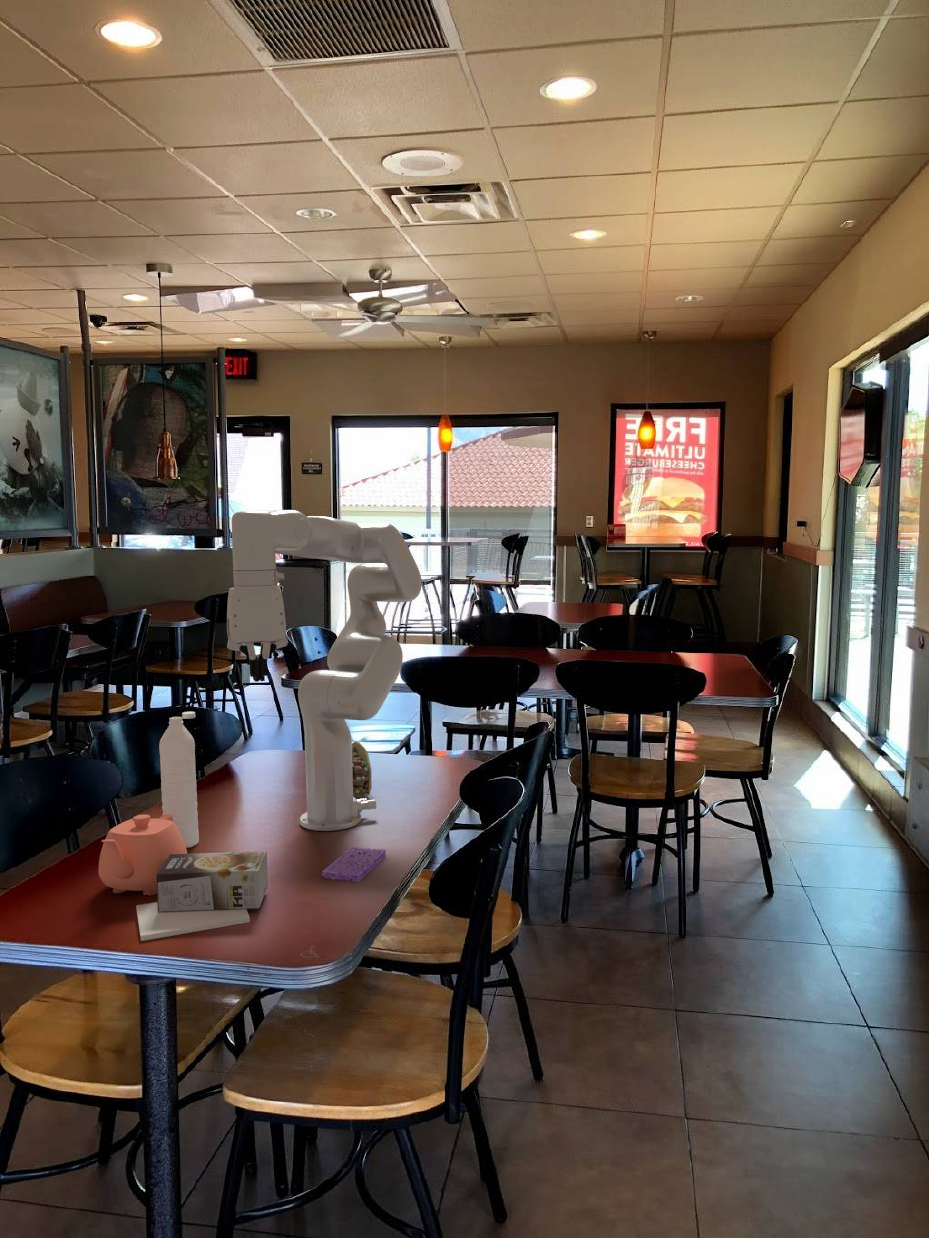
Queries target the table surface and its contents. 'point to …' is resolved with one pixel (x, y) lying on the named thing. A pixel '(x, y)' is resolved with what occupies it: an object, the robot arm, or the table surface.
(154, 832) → the teapot
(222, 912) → the mat
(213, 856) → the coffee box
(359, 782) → the taco
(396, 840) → the table surface
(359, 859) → the sponges
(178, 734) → the water bottle
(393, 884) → the table surface
